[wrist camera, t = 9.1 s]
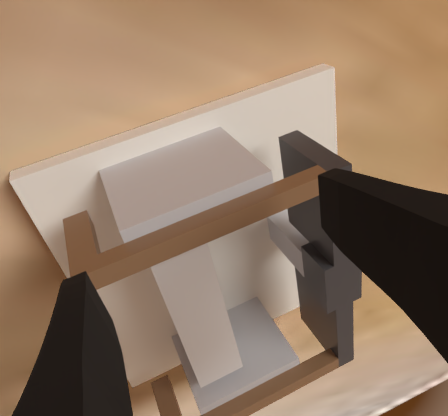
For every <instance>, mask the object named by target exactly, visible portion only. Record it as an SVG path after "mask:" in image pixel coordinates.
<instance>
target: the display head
mask: <svg viewBox="0 0 448 416" xmlns="http://www.w3.org/2000/svg"><path fill="white" fill-rule="evenodd" d="M296 130H298V131H300V132H301V133H303V134H305V135H306V136H308V137H309V138H311V139H313V140H314V141H316V142H317V143H319V144H321V145H322V146H324V147H325V148H327V149H329V150H330V151H332V152H333V153H335V154H336V155H337V127H336V97H335V67H332V66H329V65H326V64H324V63H322V64H320V65H317V66H314V67H311V68H308V69H305V70H302V71H299V72H296V73H294V74H291V75H288V76H285V77H282V78H279V79H276V80H273V81H270V82H268V83H265V84H262V85H259V86H256V87H253V88H250V89H247V90H244V91H242V92H239V93H236V94H233V95H230V96H227V97H224V98H221V99H218V100H215V101H213V102H210V103H207V104H204V105H201V106H198V107H195V108H192V109H189V110H187V111H184V112H181V113H178V114H175V115H172V116H169V117H166V118H163V119H161V120H158V121H155V122H152V123H149V124H146V125H143V126H140V127H137V128H135V129H132V130H129V131H126V132H123V133H120V134H117V135H114V136H111V137H109V138H106V139H103V140H100V141H97V142H94V143H91V144H88V145H85V146H83V147H80V148H77V149H74V150H71V151H68V152H65V153H62V154H59V155H57V156H54V157H51V158H48V159H45V160H42V161H39V162H36V163H33V164H31V165H28V166H25V167H22V168H19V169H16V170H13V171H10V178H9V182H10V184H11V185H12V187H13V189H14V190H15V192H16V194H17V195H18V197H19V199H20V200H21V202H22V204H23V205H24V207H25V209H26V210H27V212H28V214H29V215H30V217H31V219H32V220H33V222H34V224H35V225H36V227H37V229H38V230H39V232H40V234H41V235H42V237H43V239H44V241H45V242H46V244H47V246H48V247H49V249H50V251H51V252H52V254H53V256H54V257H55V259H56V261H57V262H58V264H59V266H60V267H61V269H62V271H63V272H64V274H65V276H66V277H67V278H70V272H69V264H68V257H67V249H66V242H65V234H64V226H63V219H64V218H67V217H70V216H72V215H75V214H77V213H80V212H83V211H85V210H87V212H88V214H89V216H90V218H91V220H92V222H93V224H94V227H95V231H96V235H97V239H98V243H99V248H100V252H101V253H102V252H104V251H107V250H109V249H112V248H114V247H117V246H119V245H122V244H124V243H127V242H129V241H132V240H134V239H136V238H139V237H141V236H144V235H146V234H149V233H151V232H154V231H156V230H159V229H161V228H164V227H166V226H168V225H171V224H173V223H176V222H178V221H181V220H183V219H186V218H188V217H191V216H193V215H196V214H198V213H200V212H203V211H205V210H208V209H210V208H213V207H215V206H218V205H220V204H223V203H225V202H228V201H230V200H232V199H235V198H237V197H240V196H242V195H245V194H247V193H250V192H252V191H255V190H257V189H260V188H262V187H264V186H267V185H269V184H272V183H274V182H277V181H279V180H282V179H284V178H283V170H282V162H281V154H280V146H279V138H278V137H280V136H283V135H285V134H288V133H290V132H293V131H296ZM307 243H309V241H308V240H307V239H306V238H305V237H304V236H303V235H302V234H301V233H300V232H299V231H298V230H297V229H296V228H295V227H294V226H293V225H292V224H291V223H290V222H289V217H288V209H286V210H283V211H281V212H279V213H276V214H274V215H272V216H269V217H267V218H264V219H262V220H260V221H257V222H255V223H253V224H250V225H248V226H246V227H243V228H241V229H239V230H236V231H234V232H232V233H229V234H227V235H224V236H222V237H220V238H217V239H215V240H213V241H210V242H208V243H206V244H203V245H201V246H199V247H196V248H194V249H192V250H189V251H187V252H185V253H182V254H180V255H177V256H175V257H173V258H170V259H168V260H166V261H163V262H161V263H159V264H156V265H154V266H152V267H149V268H147V269H145V270H142V271H140V272H137V273H135V274H133V275H130V276H128V277H126V278H123V279H121V280H119V281H116V282H114V283H112V284H109V285H107V286H105V287H102V288H100V289H98V290H96V291H97V292H98V294H99V296H100V298H101V300H102V301H103V303H104V305H105V307H106V309H107V311H108V312H109V314H110V316H111V318H112V320H113V323H114V326H115V329H116V332H117V336H118V339H119V343H120V346H121V349H122V353H123V359H124V365H125V371H126V377H127V379H128V381H129V383H130V384H131V386H132V388H134V387H136V386H138V385H140V384H142V383H144V382H146V381H148V380H150V379H152V378H154V377H156V376H158V375H160V374H162V373H164V372H166V371H168V370H170V369H172V368H175V367H177V366H179V365H181V364H182V366H183V369H184V372H185V374H186V377H187V380H188V382H189V385H190V387H191V390H192V393H193V395H194V398H195V401H196V403H197V406H198V408H199V411H200V413H201V415H203V414H205V413H207V412H209V411H210V410H212V409H214V408H216V407H218V406H220V405H222V404H224V403H226V402H228V401H230V400H232V399H233V398H235V397H237V396H239V395H241V394H243V393H245V392H247V391H249V390H251V389H253V388H255V387H256V386H258V385H260V384H262V383H264V382H266V381H268V380H270V379H272V378H274V377H276V376H278V375H279V374H281V373H283V372H285V371H287V370H289V369H291V368H293V367H295V366H297V365H299V364H300V362H299V358H298V356H297V355H296V353H295V352H294V350H293V349H292V347H291V346H290V344H289V343H288V341H287V340H286V339H285V337H284V336H283V334H282V333H281V331H280V330H279V328H278V327H277V325H276V324H275V322H274V321H273V319H275V318H277V317H279V316H281V315H283V314H285V313H287V312H289V311H291V310H293V309H295V308H298V307H300V305H299V297H298V289H297V281H296V273H295V268H296V269H297V270H298V271H299V272H300V273H301V274H302V276H303V277H304V270H303V261H302V251H301V246H303V245H305V244H307Z"/></svg>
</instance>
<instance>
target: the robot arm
mask: <svg viewBox="0 0 448 416" xmlns="http://www.w3.org/2000/svg"><path fill="white" fill-rule="evenodd" d="M318 187H319V202H320V216H321V227H322V229H323V230H324V231H325V233H326V234H327V235H328V236H329V238H330V239H331V240H332V242H333V243H334V244H335V245H336V246H337V247H338V249H339V250H340V251H341V252H342V253H343V254H344V255H345V256H346V257H347V258H348V259H349V260H350V261H351V262H353V263H354V264H355V265H356V266H357V267H358V268H359V269H360V270H361V271H362V272H363V273H364V274H365V275H366V276H368V277H369V278H370V279H371V280H372V281H373V282H374V283H375V284H376V285H377V286H378V287H379V288H381V289H382V290H383V291H384V292H385V293H386V294H387V295H388V296H389V297H390V298H391V299H392V300H393V301H394V302H395V303H396V304H397V305H398V306H399V307H400V308H401V309H402V310H403V311H404V312H405V313H406V314H407V315H408V317H409V318H410V319H411V320H412V321H413V322H414V323H415V325H416V326H417V327H418V328H419V329H420V330H421V331H422V333H423V334H424V335H425V336H426V337H427V339H428V340H429V341H430V342H431V343H432V345H433V346H434V347H435V348H436V349H437V351H438V352H439V353H440V354H441V355H442V357H443V358H444V359H445V360H446V362H447V363H448V195H447V194H442V193H437V192H432V191H427V190H422V189H418V188H414V187H409V186H405V185H401V184H397V183H393V182H389V181H386V180H382V179H378V178H374V177H370V176H367V175H363V174H359V173H355V172H351V171H347V170H343V169H338V168H334V169H331V170H329V171H326V172H324V173H321V174H319V175H318ZM12 416H133V413H132V407H131V401H130V395H129V389H128V383H127V377H126V371H125V365H124V359H123V353H122V349H121V346H120V343H119V339H118V336H117V332H116V329H115V326H114V323H113V320H112V318H111V316H110V314H109V312H108V311H107V309H106V307H105V305H104V303H103V301H102V300H101V298H100V296H99V294H98V292H97V291H96V289H95V287H94V285H93V283H92V281H91V280H90V278H89V276H88V274H87V272H86V271H84V272H82V273H79V274H77V275H75V276H72V277H70V278H67V279H65V280H63V281H62V283H61V286H60V290H59V293H58V297H57V301H56V304H55V308H54V311H53V314H52V317H51V321H50V324H49V327H48V330H47V333H46V336H45V339H44V341H43V344H42V347H41V350H40V353H39V355H38V358H37V360H36V363H35V365H34V368H33V370H32V373H31V375H30V377H29V380H28V382H27V385H26V387H25V389H24V391H23V394H22V396H21V398H20V400H19V402H18V404H17V406H16V408H15V410H14V412H13V414H12Z"/></svg>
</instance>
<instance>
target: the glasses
mask: <svg viewBox="0 0 448 416" xmlns="http://www.w3.org/2000/svg"><path fill="white" fill-rule="evenodd" d="M278 138H279V146H280V154H281V162H282V170H283V178H284V179H282V180H279V181H277V182H274V183H272V184H269V185H267V186H264V187H262V188H260V189H257V190H255V191H252V192H250V193H247V194H245V195H242V196H240V197H237V198H235V199H232V200H230V201H228V202H225V203H223V204H220V205H218V206H215V207H213V208H210V209H208V210H205V211H203V212H200V213H198V214H196V215H193V216H191V217H188V218H186V219H183V220H181V221H178V222H176V223H173V224H171V225H168V226H166V227H164V228H161V229H159V230H156V231H154V232H151V233H149V234H146V235H144V236H141V237H139V238H136V239H134V240H132V241H129V242H127V243H124V244H122V245H119V246H117V247H114V248H112V249H109V250H107V251H104V252H102V253H101V252H100V248H99V243H98V239H97V235H96V231H95V227H94V224H93V222H92V220H91V218H90V216H89V214H88V212H87V210H85V211H83V212H80V213H77V214H75V215H72V216H70V217H67V218H64V219H63V226H64V234H65V242H66V249H67V257H68V264H69V272H70V277H72V276H75V275H77V274H79V273H82V272H84V271H86V272H87V274H88V276H89V278H90V280H91V281H92V283H93V285H94V287H95V289H96V290H98V289H100V288H102V287H105V286H107V285H109V284H112V283H114V282H116V281H119V280H121V279H123V278H126V277H128V276H130V275H133V274H135V273H137V272H140V271H142V270H145V269H147V268H149V267H152V266H154V265H156V264H159V263H161V262H163V261H166V260H168V259H170V258H173V257H175V256H177V255H180V254H182V253H185V252H187V251H189V250H192V249H194V248H196V247H199V246H201V245H203V244H206V243H208V242H210V241H213V240H215V239H217V238H220V237H222V236H224V235H227V234H229V233H232V232H234V231H236V230H239V229H241V228H243V227H246V226H248V225H250V224H253V223H255V222H257V221H260V220H262V219H264V218H267V217H269V216H272V215H274V214H276V213H279V212H281V211H283V210H286V209H288V217H289V222H290V223H291V224H292V225H293V226H294V227H295V228H296V229H297V230H298V231H299V232H300V233H301V234H302V235H303V236H304V237H305V238H306V239H307V240H308V241H309V243H307V244H305V245H303V246H301V251H302V261H303V270H304V277H303V276H302V274H301V273H300V272H299V271H298V270H297V269H296V268H295V273H296V281H297V289H298V297H299V305H300V313H301V318H302V320H303V321H304V322H305V324H306V325H307V326H308V328H309V329H310V330H311V331H312V333H313V334H314V335H315V337H316V338H317V339H318V341H319V342H320V343H321V345H322V346H323V347H324V348H325V351H323V352H322V353H320V354H318V355H316V356H314V357H312V358H310V359H308V360H306V361H304V362H302V363H301V364H299V365H297V366H295V367H293V368H291V369H289V370H287V371H285V372H283V373H281V374H279V375H278V376H276V377H274V378H272V379H270V380H268V381H266V382H264V383H262V384H260V385H258V386H256V387H255V388H253V389H251V390H249V391H247V392H245V393H243V394H241V395H239V396H237V397H235V398H233V399H232V400H230V401H228V402H226V403H224V404H222V405H220V406H218V407H216V408H214V409H212V410H210V411H209V412H207V413H205V414H203V415H201V416H249V415H251V414H253V413H254V412H256V411H258V410H260V409H262V408H264V407H266V406H268V405H269V404H271V403H273V402H275V401H277V400H279V399H281V398H282V397H284V396H286V395H288V394H290V393H292V392H294V391H295V390H297V389H299V388H301V387H303V386H305V385H307V384H308V383H310V382H312V381H314V380H316V379H318V378H320V377H322V376H323V375H325V374H327V373H329V372H331V371H333V370H335V369H336V368H338V367H340V366H342V365H344V364H346V363H348V362H349V361H351V360H353V359H354V348H353V301H355V300H357V299H359V298H361V282H362V271H361V270H360V269H359V268H358V267H357V266H356V265H355V264H354V263H353V262H351V261H350V260H349V259H348V258H347V257H346V256H345V255H344V254H343V253H342V252H341V251H340V250H339V249H338V247H337V246H336V245H335V244H334V243H333V242H332V240H331V239H330V238H329V236H328V235H327V234H326V233H325V231H324V230H323V229H322V227H321V216H320V202H319V187H318V175H319V174H321V173H324V172H326V171H329V170H331V169H334V168H338V169H343V170H347V171H351V172H352V164H351V163H349V162H348V161H346V160H344V159H343V158H341V157H340V156H338V155H336V154H335V153H333V152H332V151H330V150H329V149H327V148H325V147H324V146H322V145H321V144H319V143H317V142H316V141H314V140H313V139H311V138H309V137H308V136H306V135H305V134H303V133H301V132H300V131H298V130H296V131H293V132H290V133H288V134H285V135H283V136H280V137H278ZM151 384H152V388H153V391H154V395H155V398H156V402H157V405H158V409H159V412H160V415H161V416H182V414H181V411H180V408H179V405H178V402H177V399H176V396H175V393H174V391H173V388H172V385H171V382H170V380H169V378H168V376H167V375H166V376H164V377H162V378H160V379H158V380H156V381H154V382H152V383H151Z"/></svg>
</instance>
